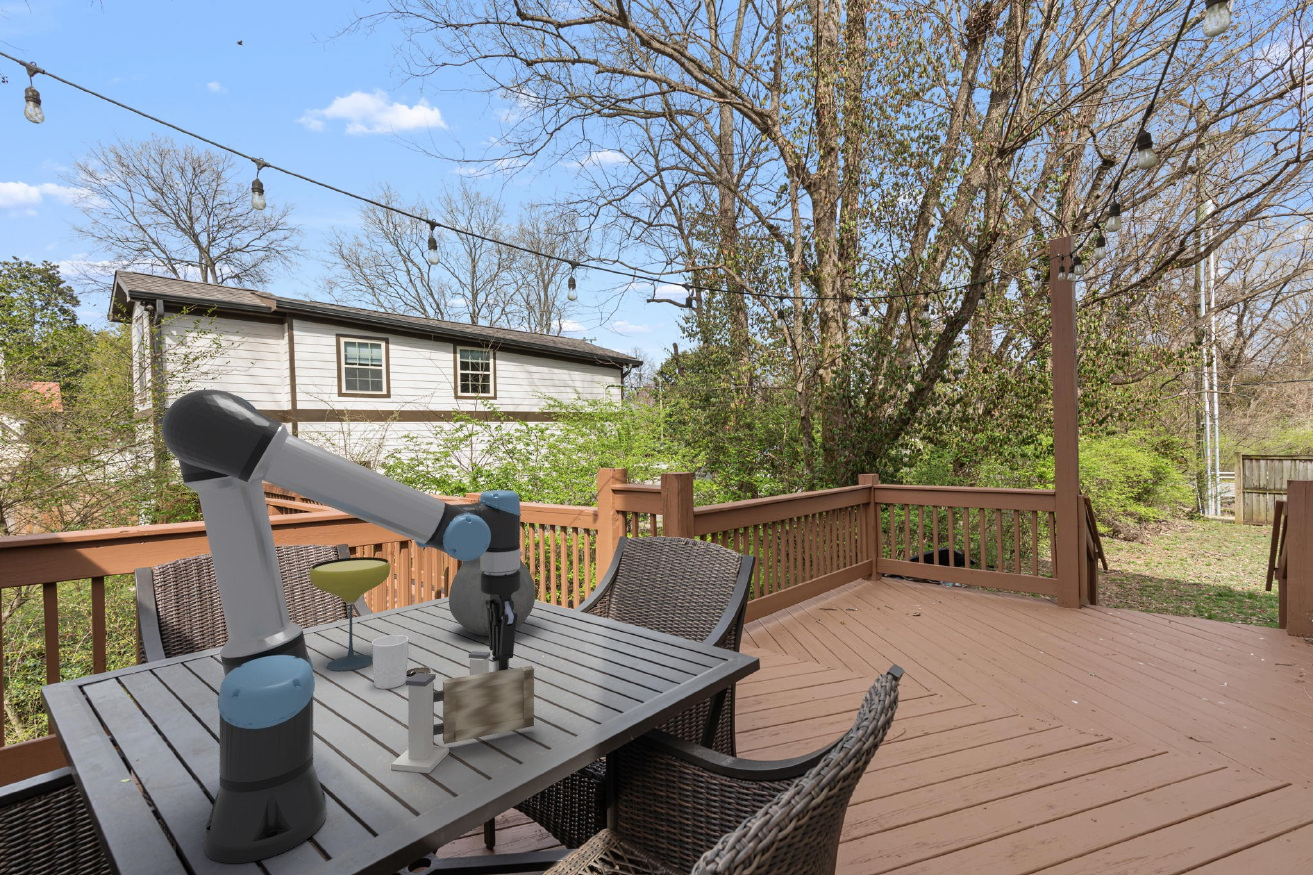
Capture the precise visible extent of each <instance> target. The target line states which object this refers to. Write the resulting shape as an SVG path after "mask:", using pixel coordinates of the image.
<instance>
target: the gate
mask: <svg viewBox="0 0 1313 875" xmlns="http://www.w3.org/2000/svg"><path fill="white" fill-rule="evenodd" d="M438 702H442V722H441V723H437V724H436V723H435V722H434V721H435V719H434V718H435V713H434V710H435V709H434V707H435V706H434V705H435V703H438ZM530 727H531V728H532V727H535V668H534V667H533V666H532V665H528V666H522V667H521V666H520V667H515V668H509V669H507V670H501V671H495V672H493V671H489V673H482V674H476V675H470V674H469V675H465V676H458V677H452V678H451V677H450V678H446V679H445V678H444V679H443V680H442V690H435V683H434V682H433V746H435V745H434V744H435V743H434V742H435V741H434V740H435V736H438V735H442V742H443V745H448V744H452V743H457V742H463V741H467V740H471V739H477V738H483V737H487V736H493V735H497V734H498V735H499V734H502V733H506V732H513V731H516V730H522V729H527V728H530Z"/></svg>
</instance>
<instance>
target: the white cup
mask: <svg viewBox="0 0 1313 875" xmlns="http://www.w3.org/2000/svg"><path fill="white" fill-rule="evenodd" d="M409 639H410V638H409V636H407V635H402V634H391V635H385V636H379V637H377V638H375V639H373V640H372V641H371V652H372V655H371V656H372V659H373V663H372V667H373V668H372V671H373V685H374V687H375V688H376V689H380V690H382V689H383V690H389V689H395V688H398V687H401V686H403V685H404V684H406V680H407V674H408V672H407V671H408V664H409V662H408V661H409Z"/></svg>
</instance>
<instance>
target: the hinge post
mask: <svg viewBox="0 0 1313 875" xmlns="http://www.w3.org/2000/svg"><path fill="white" fill-rule="evenodd" d="M434 680H436V673H424V672H416V673H415V674H413V675H412V676H410V677H409V678H408V679H407V678H406V682H405V686H408V690H407V692H408V694H407V695H408V696H407V697H408V707H407V708H408V710H407V712H408V715H407V716H408V717H407V718H408V725H407V726H408V727H407V729H408V730H407V731H408V732H407V735H408V737H407V739H408V745H407V746H408V748H407V749H406V750H405V751H404V752H402V754H401V755H399V756H398V757H397V758H396V759H395V760H394V761H393V762H392V763H391V765H390V767H391V768H390V770H392V771H401V772H409V773H410V772H411V773H422V774H430V773H431V772H432V771H433V770H434V769H435V768H436V767H437V765H439V764H440V763H441V762H442V761H443V759H445V758H446V757H447V755H449V753H450V747H448V746H439V745H433V683H434Z"/></svg>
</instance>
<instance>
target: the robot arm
mask: <svg viewBox="0 0 1313 875" xmlns="http://www.w3.org/2000/svg"><path fill="white" fill-rule="evenodd" d="M161 434H162V439H163V441H164V444H165V445H166V447H167V449H168V450H169V451H170V453H172V454H173V455H174V456H175V457H176V458H177V459H178V464H179V468H180V472H181V477H182V482H183V485H184V486H185V487H187V488H190V489H191V490H193V491H195V492H196V493H197V494H198V497H199V498H198V499H199V504H200V508H201V513H202V517H203V522H204V526H205V532H206V537H207V541H208V546H209V551H210V555H211V560H212V565H213V569H214V574H215V578H216V579H215V580H216V584H217V587H218V593H219V596H220V603H221V607H222V608H221V609H222V611H223V612H222V613H223V616H224V622H225V625H226V629H227V630H226V631H227V634H228V635H227V636H228V639H227V641H226V642H225V644H224V645H223V647H222V648H221V649H220V651H219V652H220V653H219V654H220V658H221V659H220V660H221V664H222V668H223V672H224V673H223V674H224V678H223V680H222V682H221V685H220V689H219V693H218V697H217V708H218V711H219V712H218V713H219V769H218V770H219V771H218V772H219V787H218V791H217V794H216V797H215V799H214V802H213V804H212V808H211V810H210V813H209V818H208V820H207V822H206V825H205V827H204V833H203V850H204V853H205V854H206V856H207V857H208V858H209V859H211V860H213V861H215V862H219V863H224V864H243V863H244V864H245V863H249V862H256V861H260V860H265V859H267V858H271V857H274V856H277V855H279V854H281V853H284V852H286V851H289V850H290V849H293V848H295V847H297V846H298V845H300V844H302V843H303V842H305V841H306V840H308V839H309V838H310V837H312V836H313V835H314V834H315V833H317V832H318V831H319V829H321V827H322V826H323V824H324V823H325V820H326V818H327V796H326V794H325V792H324V790H323V789H322V786H321V784H320V781H319V777H318V774H317V772H316V769H315V766H314V692H315V685H316V682H315V676H314V668H313V662H312V659H311V656H310V655H309V652H308V648H307V644H306V639H305V635H304V630H303V627H302V626H301V625H299V624H297V623H294V622H293V621H292V620H290V618H291V617H290V614H289V613H290V612H289V609H288V604H287V600H286V594H285V593H286V592H285V590H284V584H283V579H282V574H281V570H280V565H279V558H278V554H277V550H276V545H275V541H274V536H273V529H272V525H271V520H270V515H269V511H268V504H267V501H266V496H265V495H266V494H265V492H264V487H263V482H266V483H269V484H271V485H274V486H276V487H279V488H280V489H283V490H287V491H288V492H291V493H294V494H296V495H299V496H300V497H301V496H302V497H304V498H307V499H309V500H312V501H314V502H316V503H319V504H322V505H325V507H326V506H327V507H329V508H332V509H335V510H337V511H340V512H342V513H344V514H347V515H349V516H352V517H354V518H357V519H360V520H362V521H365V522H368V523H369V524H373V525H375V526H377V527H380V528H382V529H385V530H388V531H391V532H393V533H395V534H397V535H400V536H403V537H405V538H408V539H411V540H412V541H414V542H415V545H416V546H417V547H418V548H431V549H435V550H437V551H440V552H443V553H445V554H447V555H448V556H449V557H450V558H452V559H454V560H458V561H462V562H463V561H471V560H474V559H477V558H479V557H480V569H481V570H482V571H484V572H482V574H481V591H482V592H483V593H485V594H489V595H490V599H489V600H486V602H485V604H486V608H487V617H488V631H489V635H488V642H489V650H490V652H491V654H492V658H491V661H492V662H493V663H492V666H493V668H492V669H493V670H492V672H495V671H501V670H507V669H510V660H511V659H513V658H514V651H515V639H516V629H517V628H516V622H517V617H518V615H517V613H513V609H514V602H513V600H512V597H511V595H512V594H513V593H514V592H517V591H518V590H519V589H520V587H521V578H520V571H519V570H517V569H519V568H520V558H521V557H522V556H523V551H521V516H522V514H521V502H520V495H519V494H518V493H517V492H516V491H513V490H489V491H488V490H486V491H483V492H481V493H480V496H479V500H478V502H474V503H473V502H472V503H462V504H457V503H456V504H450V503H447V502H445V501H443V500H441V499H439V498H437V497H434V496H432V495H430V494H427V493H425V492H424V491H423V492H422V490H421V491H420V490H419V489H415V488H413V487H412V486H410V485H407V484H405V483H402V482H401V481H400V482H399V481H398V480H395V479H393V478H391V477H389V476H386V475H385V474H382V473H379V472H376V471H375V470H373V469H371V468H367V467H366V466H363V465H362V464H359V463H356V462H354V461H351V460H349V459H347V458H345V457H344V456H343V457H342V456H340V455H338V454H336V453H333V452H332V451H329V450H327V449H324V448H322V447H320V446H318V445H315V444H313V443H311V442H308V441H306V440H304V439H301V438H300V437H298V436H295V435H293V434H291V433H289V432H288V429H287V427H286V425H285V424H284V423H282V422H279V421H277V420H275V419H273V418H271V417H269V416H267V415H265V414H263V413H261V412H260V411H258V410H257V408H256V407H255V406H254V405H253V404H252V403H250V402H249V401H248V400H246V399H245V398H243V397H242V396H239V395H237V394H236V395H235V394H234V393H231V392H228V391H225V390H220V389H213V388H212V389H200V390H199V389H198V390H195V391H194V390H193V391H191V392H188V393H187V394H184V395H182V396H181V397H179V398H177V399H176V400H175V401H174V402H172V404H171V405H170V406H169V407H168V408H167V409H166V411H165V414H164V415H163V418H162V423H161ZM515 628H516V629H515Z"/></svg>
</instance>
